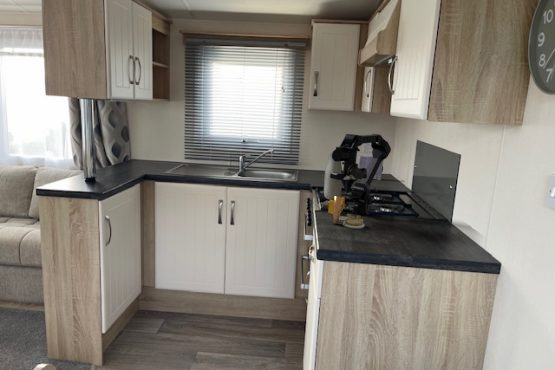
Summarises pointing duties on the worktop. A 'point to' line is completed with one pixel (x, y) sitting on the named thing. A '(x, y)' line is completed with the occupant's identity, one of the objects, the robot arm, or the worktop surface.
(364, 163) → the cake pan box
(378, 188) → the worktop surface
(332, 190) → the glass bottle
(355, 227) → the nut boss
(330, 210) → the pipe clamp
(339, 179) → the robot arm
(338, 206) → the bronze dome and bar
